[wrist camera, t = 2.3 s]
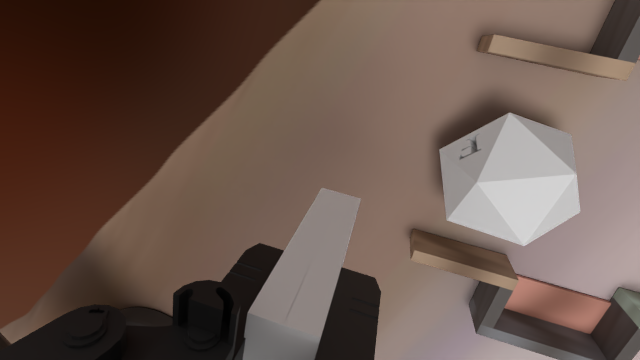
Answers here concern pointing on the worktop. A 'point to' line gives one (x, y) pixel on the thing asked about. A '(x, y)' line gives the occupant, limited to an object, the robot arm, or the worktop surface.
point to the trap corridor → (532, 295)
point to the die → (511, 179)
